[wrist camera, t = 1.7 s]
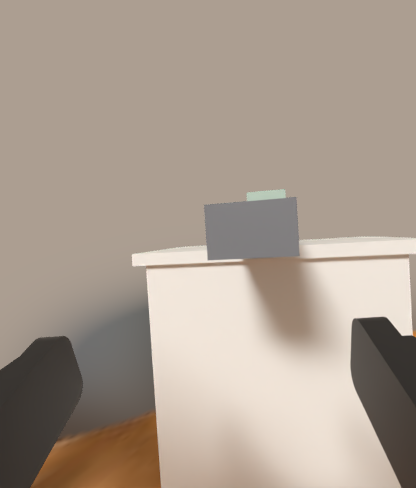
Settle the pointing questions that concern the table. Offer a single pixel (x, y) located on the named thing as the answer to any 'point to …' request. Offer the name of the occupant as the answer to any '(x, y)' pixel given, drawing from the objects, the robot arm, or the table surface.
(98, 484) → the table surface
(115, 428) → the table surface
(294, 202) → the bar
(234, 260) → the tall stand
